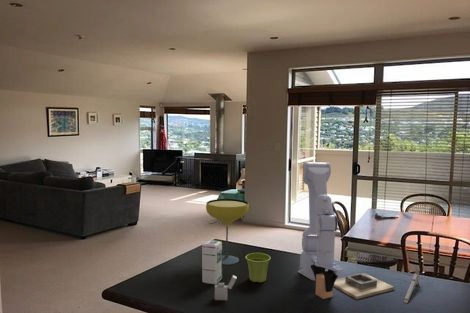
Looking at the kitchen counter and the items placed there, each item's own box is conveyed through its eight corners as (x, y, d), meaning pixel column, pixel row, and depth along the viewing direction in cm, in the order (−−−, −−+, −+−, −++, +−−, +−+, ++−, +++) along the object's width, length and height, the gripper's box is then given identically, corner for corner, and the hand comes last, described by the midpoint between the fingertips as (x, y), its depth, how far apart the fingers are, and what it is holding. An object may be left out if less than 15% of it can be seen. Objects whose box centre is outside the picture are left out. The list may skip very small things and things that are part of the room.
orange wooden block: (315, 294, 126) (316, 274, 126) (324, 292, 128) (325, 272, 127) (323, 298, 123) (323, 278, 122) (332, 296, 124) (333, 276, 124)
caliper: (415, 283, 137) (416, 266, 137) (418, 283, 137) (419, 267, 136) (403, 303, 121) (404, 284, 121) (407, 304, 120) (408, 285, 120)
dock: (328, 283, 135) (328, 275, 135) (364, 275, 143) (364, 268, 143) (356, 299, 123) (357, 290, 122) (394, 289, 131) (394, 281, 130)
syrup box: (216, 284, 132) (217, 245, 131) (201, 282, 134) (201, 243, 133) (222, 278, 138) (222, 241, 137) (207, 276, 140) (208, 239, 139)
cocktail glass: (228, 250, 170) (228, 197, 168) (256, 261, 157) (257, 203, 155) (196, 259, 158) (197, 202, 156) (224, 271, 145) (225, 209, 143)
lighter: (214, 299, 121) (214, 276, 120) (215, 297, 122) (215, 274, 122) (236, 300, 120) (236, 276, 120) (236, 298, 122) (236, 274, 122)
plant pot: (256, 287, 131) (257, 263, 131) (239, 278, 138) (240, 256, 138) (275, 280, 137) (275, 257, 136) (258, 272, 144) (258, 251, 144)
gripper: (302, 244, 129) (301, 282, 130) (331, 257, 116) (329, 299, 117) (318, 242, 132) (317, 279, 133) (347, 254, 119) (346, 295, 120)
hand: (324, 288), depth 125 cm, fingers open, 4 cm apart
